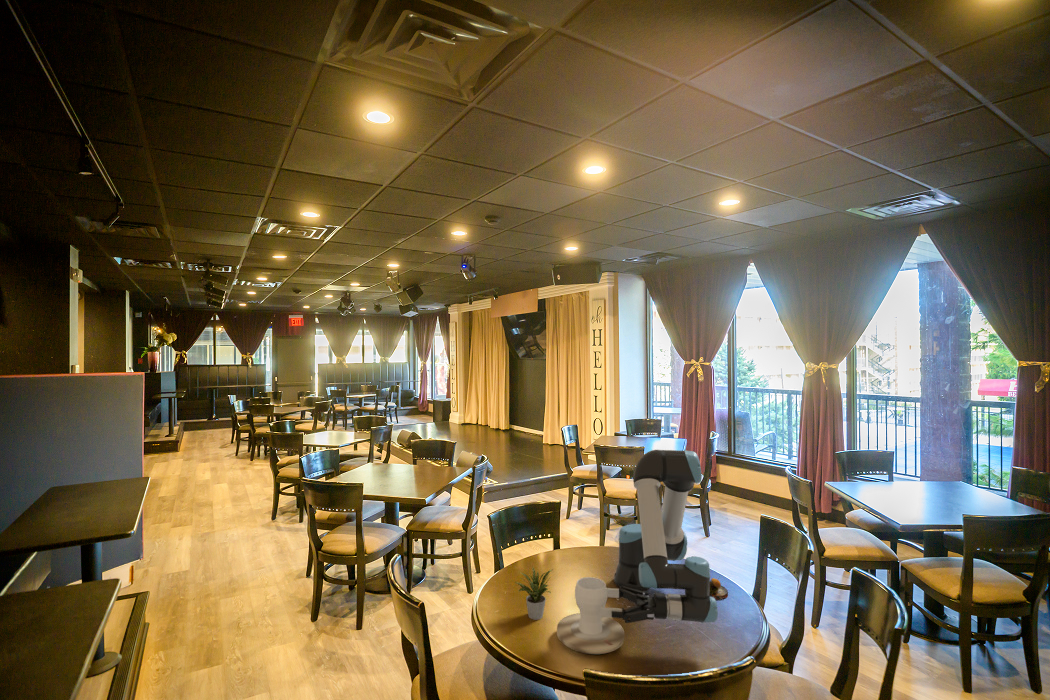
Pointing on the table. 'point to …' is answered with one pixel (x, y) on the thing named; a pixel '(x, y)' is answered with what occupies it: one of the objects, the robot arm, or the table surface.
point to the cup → (590, 604)
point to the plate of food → (717, 589)
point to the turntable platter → (586, 643)
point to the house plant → (535, 594)
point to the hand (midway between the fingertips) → (599, 601)
